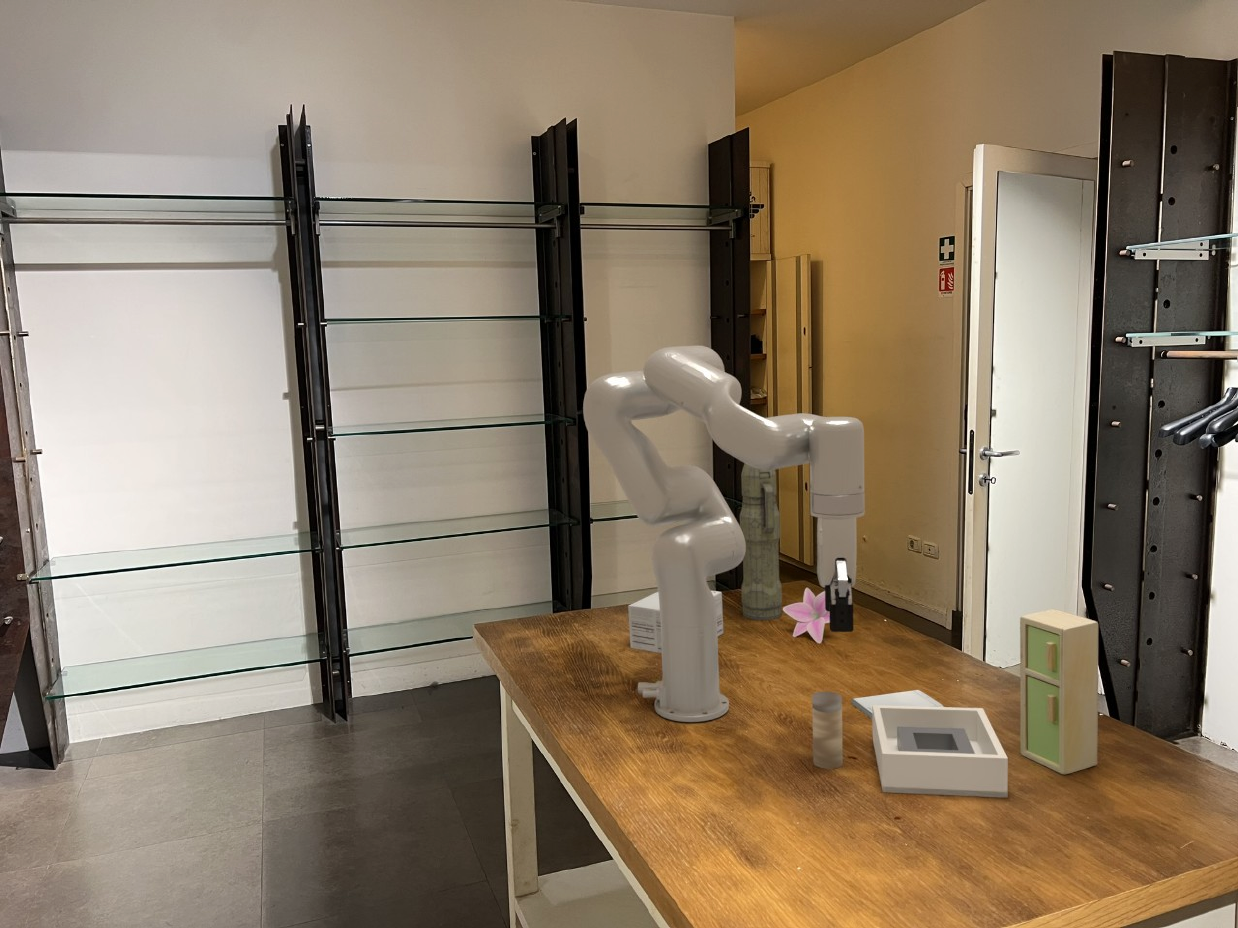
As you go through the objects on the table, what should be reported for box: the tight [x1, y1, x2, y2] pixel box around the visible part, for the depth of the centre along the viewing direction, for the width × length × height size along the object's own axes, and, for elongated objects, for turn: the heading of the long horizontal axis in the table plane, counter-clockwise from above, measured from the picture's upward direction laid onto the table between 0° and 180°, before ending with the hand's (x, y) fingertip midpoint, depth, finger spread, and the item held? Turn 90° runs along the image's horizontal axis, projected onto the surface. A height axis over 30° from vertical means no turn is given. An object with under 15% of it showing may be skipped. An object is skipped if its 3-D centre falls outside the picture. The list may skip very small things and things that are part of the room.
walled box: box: [872, 705, 1009, 799], centre depth 134 cm, size 16×17×6 cm
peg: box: [811, 690, 844, 770], centre depth 136 cm, size 4×4×10 cm
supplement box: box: [627, 590, 724, 654], centre depth 195 cm, size 17×13×9 cm
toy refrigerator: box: [1019, 608, 1099, 775], centre depth 133 cm, size 8×7×21 cm
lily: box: [782, 587, 830, 644], centre depth 195 cm, size 12×12×10 cm
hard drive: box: [851, 689, 945, 721], centre depth 156 cm, size 2×8×12 cm
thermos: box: [739, 462, 783, 621], centre depth 209 cm, size 9×12×35 cm
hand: (838, 620), depth 135 cm, fingers open, 9 cm apart
